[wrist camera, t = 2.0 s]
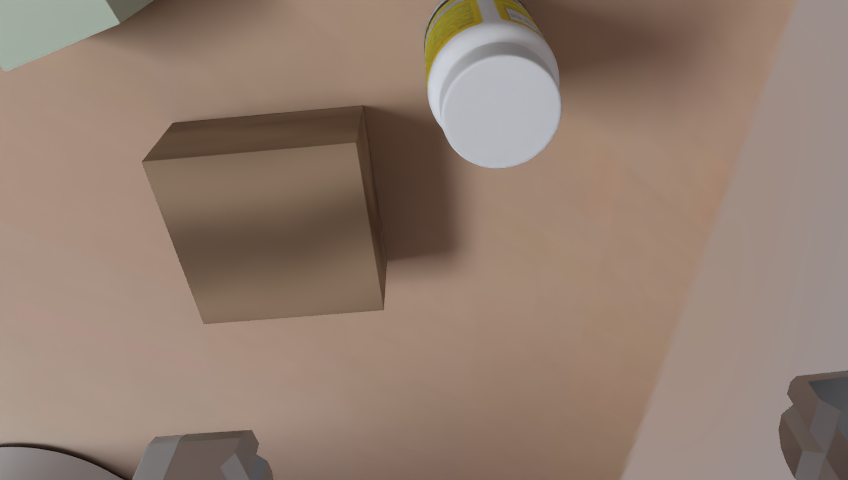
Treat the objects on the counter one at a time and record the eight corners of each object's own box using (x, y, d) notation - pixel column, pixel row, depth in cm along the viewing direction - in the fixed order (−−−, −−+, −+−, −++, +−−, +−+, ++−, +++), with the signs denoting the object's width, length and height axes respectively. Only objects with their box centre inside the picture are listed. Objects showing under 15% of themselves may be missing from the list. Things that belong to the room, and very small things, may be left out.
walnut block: (386, 262, 34) (383, 310, 31) (224, 275, 34) (203, 323, 31) (362, 105, 29) (355, 142, 26) (172, 123, 29) (141, 161, 26)
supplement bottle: (425, 93, 29) (428, 180, 22) (423, -16, 26) (425, 44, 19) (529, 90, 29) (566, 177, 22) (538, -19, 26) (582, 40, 19)
